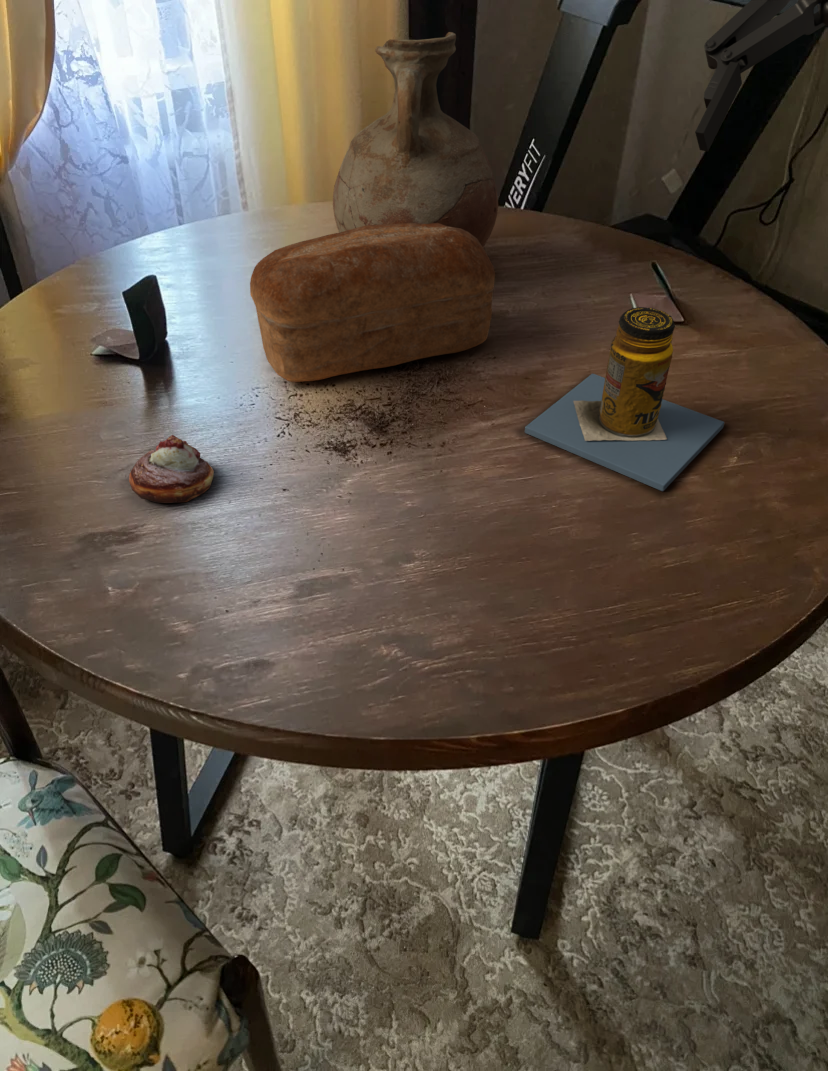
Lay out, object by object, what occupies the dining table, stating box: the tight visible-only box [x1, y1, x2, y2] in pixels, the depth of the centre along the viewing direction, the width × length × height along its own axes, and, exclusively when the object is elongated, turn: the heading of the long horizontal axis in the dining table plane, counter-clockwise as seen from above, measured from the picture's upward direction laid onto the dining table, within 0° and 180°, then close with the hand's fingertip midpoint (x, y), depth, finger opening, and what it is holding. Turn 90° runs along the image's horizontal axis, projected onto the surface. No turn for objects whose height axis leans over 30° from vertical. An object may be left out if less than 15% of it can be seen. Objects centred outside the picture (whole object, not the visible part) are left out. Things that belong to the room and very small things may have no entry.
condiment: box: [573, 306, 676, 441], centre depth 85 cm, size 7×8×12 cm
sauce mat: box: [524, 373, 725, 492], centre depth 89 cm, size 16×14×1 cm
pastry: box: [128, 434, 215, 504], centre depth 81 cm, size 8×8×5 cm
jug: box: [332, 31, 499, 248], centre depth 107 cm, size 22×22×30 cm
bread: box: [249, 223, 496, 383], centre depth 97 cm, size 12×28×14 cm, turn 111°
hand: (778, 157), depth 69 cm, fingers open, 13 cm apart
